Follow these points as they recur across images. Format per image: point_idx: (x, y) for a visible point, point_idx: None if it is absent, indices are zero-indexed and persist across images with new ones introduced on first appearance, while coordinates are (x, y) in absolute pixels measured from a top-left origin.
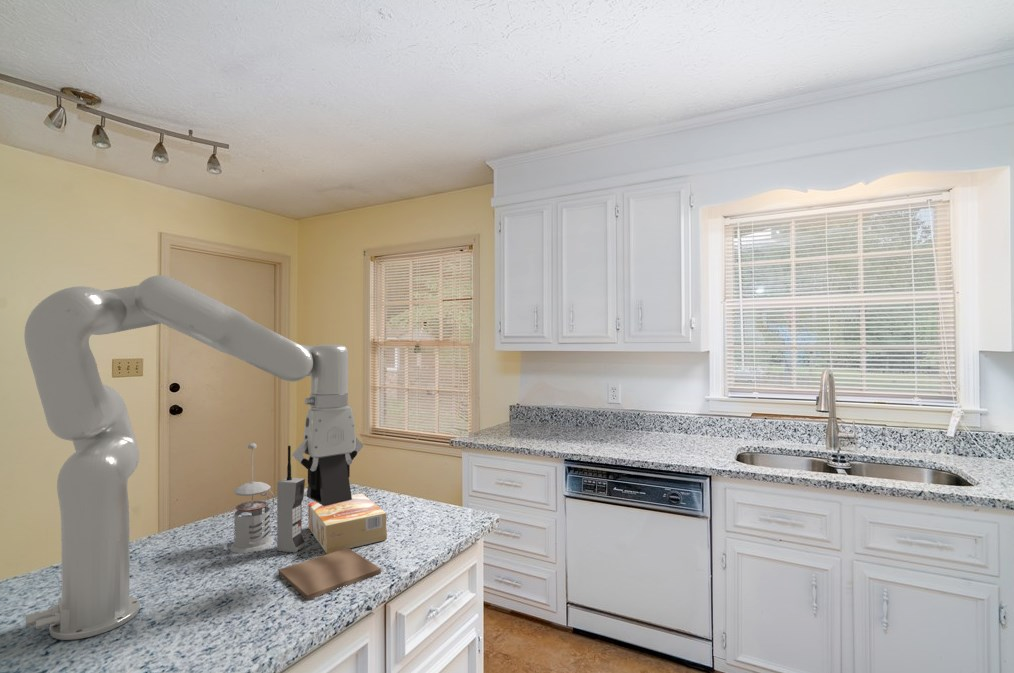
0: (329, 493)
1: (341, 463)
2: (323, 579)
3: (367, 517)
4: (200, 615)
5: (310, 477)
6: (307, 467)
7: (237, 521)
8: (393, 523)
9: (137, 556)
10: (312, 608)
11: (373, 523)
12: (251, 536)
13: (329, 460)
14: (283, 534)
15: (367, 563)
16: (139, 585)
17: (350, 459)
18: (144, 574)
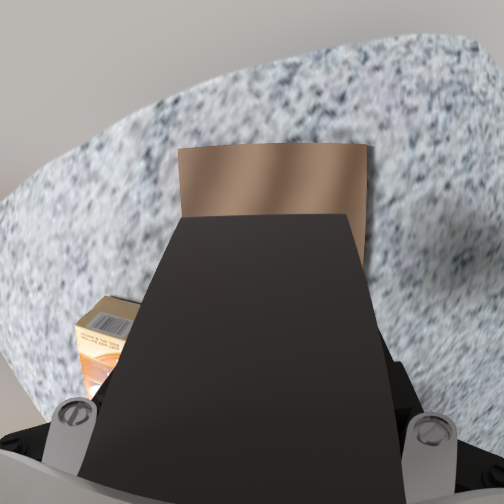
0: (316, 247)
1: (146, 418)
2: (308, 190)
3: (119, 338)
4: (497, 241)
5: (412, 396)
6: (467, 444)
7: None
8: (76, 353)
9: None
10: (367, 107)
11: (113, 323)
12: None
13: (274, 482)
14: None
15: (189, 196)
16: (487, 390)
17: (58, 424)
18: (467, 417)
